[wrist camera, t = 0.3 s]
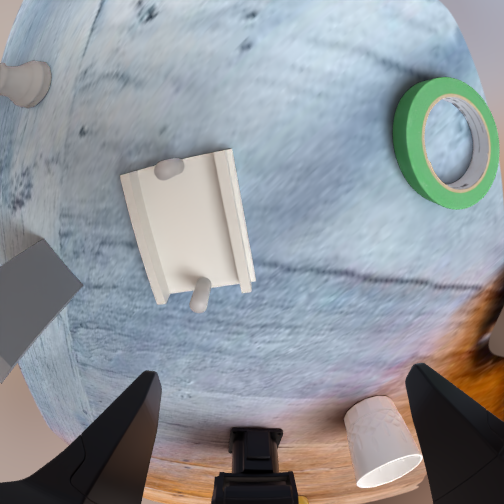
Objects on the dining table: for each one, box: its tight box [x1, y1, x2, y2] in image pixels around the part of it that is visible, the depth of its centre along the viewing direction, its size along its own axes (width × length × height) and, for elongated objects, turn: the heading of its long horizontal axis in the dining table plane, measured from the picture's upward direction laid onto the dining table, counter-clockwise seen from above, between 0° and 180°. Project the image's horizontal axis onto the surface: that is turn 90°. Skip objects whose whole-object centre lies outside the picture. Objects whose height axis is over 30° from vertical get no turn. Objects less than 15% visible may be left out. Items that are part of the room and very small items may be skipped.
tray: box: [120, 149, 256, 313], centre depth 20 cm, size 10×8×4 cm
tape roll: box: [393, 77, 499, 209], centre depth 18 cm, size 11×11×3 cm
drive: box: [0, 239, 83, 384], centre depth 17 cm, size 6×4×12 cm, turn 39°
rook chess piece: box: [0, 61, 51, 108], centre depth 13 cm, size 4×4×8 cm
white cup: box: [344, 396, 423, 488], centre depth 26 cm, size 8×8×10 cm
